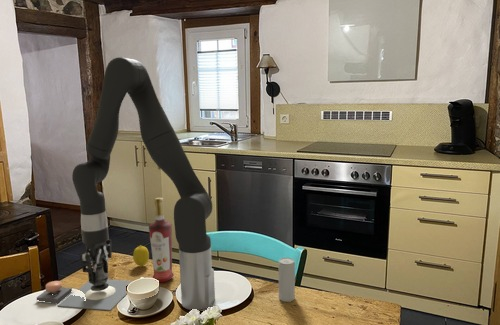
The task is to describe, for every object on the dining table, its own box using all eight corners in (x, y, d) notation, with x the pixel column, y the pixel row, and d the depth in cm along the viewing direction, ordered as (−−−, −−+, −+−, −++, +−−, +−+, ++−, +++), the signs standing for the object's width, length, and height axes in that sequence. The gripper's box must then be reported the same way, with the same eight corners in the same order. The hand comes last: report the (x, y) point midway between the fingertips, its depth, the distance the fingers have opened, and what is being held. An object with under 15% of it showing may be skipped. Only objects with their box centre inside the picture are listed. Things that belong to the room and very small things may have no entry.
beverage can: (285, 293, 122) (285, 256, 120) (298, 298, 119) (298, 260, 117) (275, 298, 119) (275, 260, 117) (287, 304, 115) (287, 265, 114)
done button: (65, 289, 124) (64, 281, 124) (56, 296, 120) (55, 287, 119) (52, 289, 125) (51, 280, 124) (43, 295, 121) (42, 286, 120)
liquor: (177, 275, 136) (173, 195, 132) (170, 285, 129) (165, 201, 124) (157, 274, 137) (152, 195, 133) (148, 284, 130) (143, 201, 125)
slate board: (138, 282, 131) (138, 281, 131) (110, 310, 114) (110, 309, 114) (91, 279, 134) (91, 278, 134) (57, 306, 117) (57, 305, 117)
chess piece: (102, 292, 120) (99, 254, 118) (85, 290, 122) (82, 253, 120) (113, 283, 126) (110, 247, 124) (96, 282, 127) (93, 246, 125)
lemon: (147, 269, 141) (146, 248, 140) (132, 269, 141) (130, 248, 140) (151, 263, 147) (150, 242, 145) (136, 263, 147) (135, 242, 145)
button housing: (72, 292, 125) (71, 287, 125) (57, 303, 119) (57, 298, 118) (52, 290, 127) (51, 286, 126) (37, 301, 120) (36, 297, 120)
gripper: (92, 234, 113) (97, 289, 116) (117, 219, 127) (121, 269, 130) (68, 233, 114) (74, 288, 117) (96, 218, 128) (100, 267, 131)
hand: (99, 277), depth 123 cm, fingers closed on chess piece, 6 cm apart
